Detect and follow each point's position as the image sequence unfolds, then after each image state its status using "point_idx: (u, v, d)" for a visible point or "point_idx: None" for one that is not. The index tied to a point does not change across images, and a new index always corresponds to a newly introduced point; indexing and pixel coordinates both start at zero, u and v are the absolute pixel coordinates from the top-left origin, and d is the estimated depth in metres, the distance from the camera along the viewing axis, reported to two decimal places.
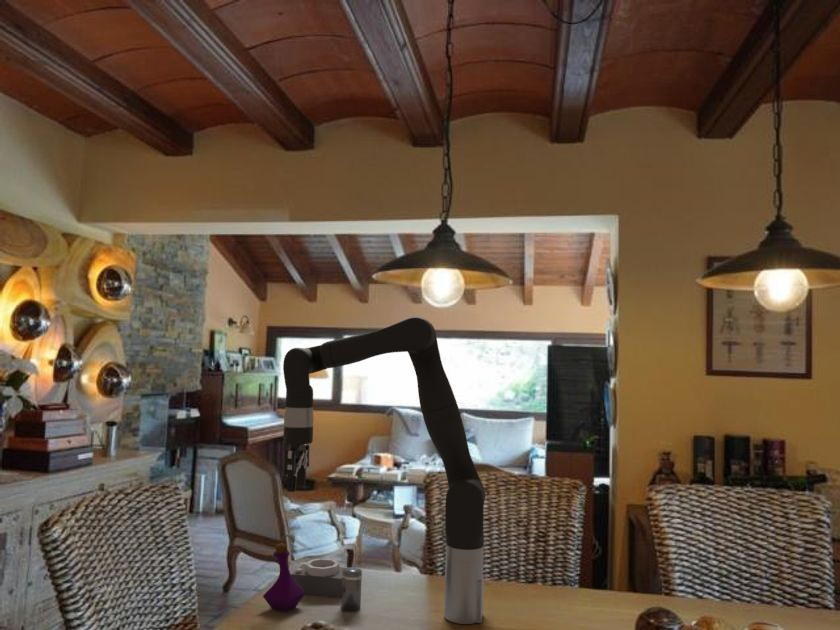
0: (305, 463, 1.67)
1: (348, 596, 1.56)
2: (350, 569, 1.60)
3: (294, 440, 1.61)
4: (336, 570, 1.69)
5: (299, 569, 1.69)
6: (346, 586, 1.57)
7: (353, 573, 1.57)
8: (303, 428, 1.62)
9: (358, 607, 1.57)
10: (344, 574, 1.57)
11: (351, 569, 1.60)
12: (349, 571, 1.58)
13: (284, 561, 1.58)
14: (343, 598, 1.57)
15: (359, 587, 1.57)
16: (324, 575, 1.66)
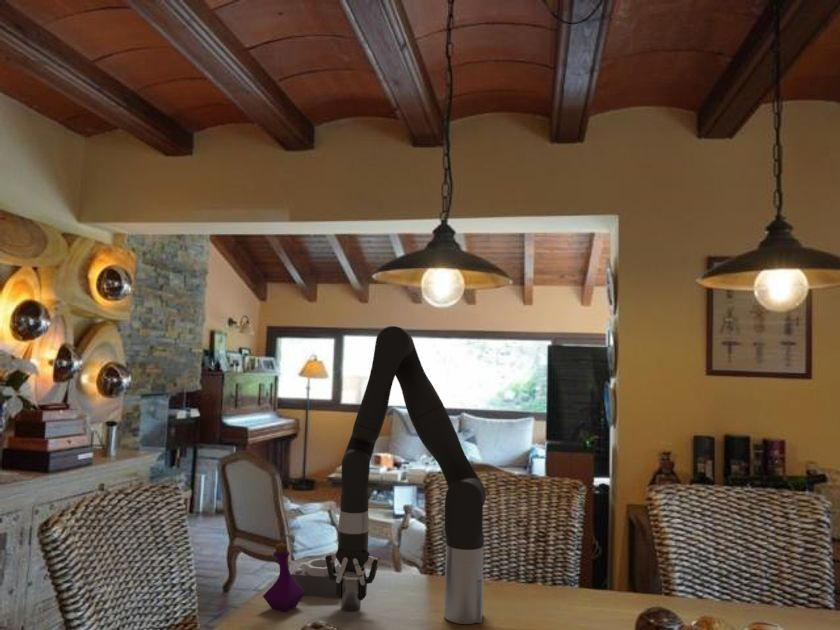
0: None
1: (348, 596, 1.56)
2: None
3: (367, 544, 1.59)
4: (336, 570, 1.69)
5: (299, 569, 1.69)
6: (346, 586, 1.57)
7: (353, 573, 1.57)
8: None
9: (358, 607, 1.57)
10: (344, 574, 1.57)
11: None
12: (349, 571, 1.58)
13: (284, 561, 1.58)
14: (343, 598, 1.57)
15: (359, 587, 1.57)
16: (324, 575, 1.66)
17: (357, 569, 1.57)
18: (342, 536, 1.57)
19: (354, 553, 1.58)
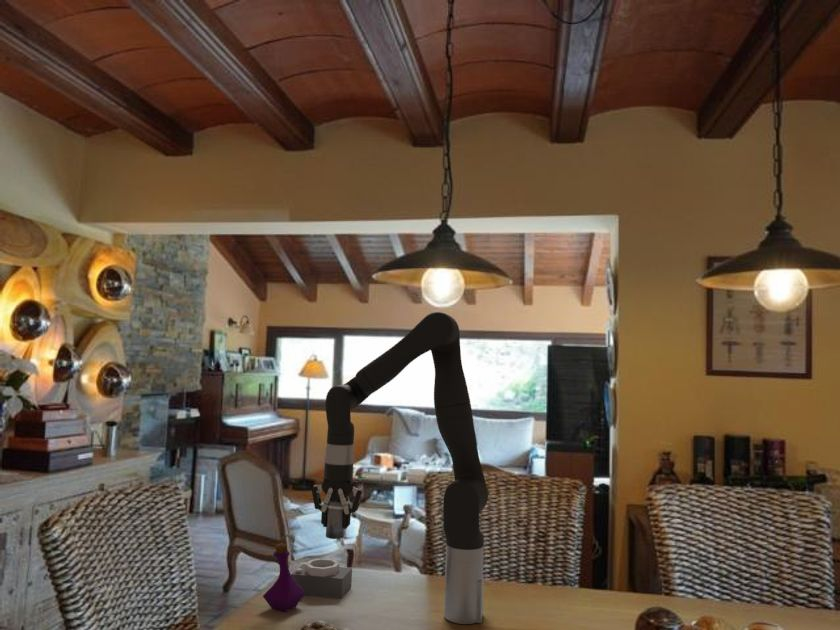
0: None
1: (332, 524, 1.63)
2: None
3: (352, 476, 1.66)
4: (336, 570, 1.69)
5: (299, 569, 1.69)
6: (331, 515, 1.64)
7: (338, 503, 1.64)
8: None
9: (342, 535, 1.64)
10: (329, 503, 1.64)
11: (336, 500, 1.67)
12: (334, 501, 1.65)
13: (284, 561, 1.58)
14: (328, 526, 1.64)
15: (343, 516, 1.65)
16: (324, 575, 1.66)
17: (342, 499, 1.64)
18: (328, 467, 1.64)
19: (339, 484, 1.65)
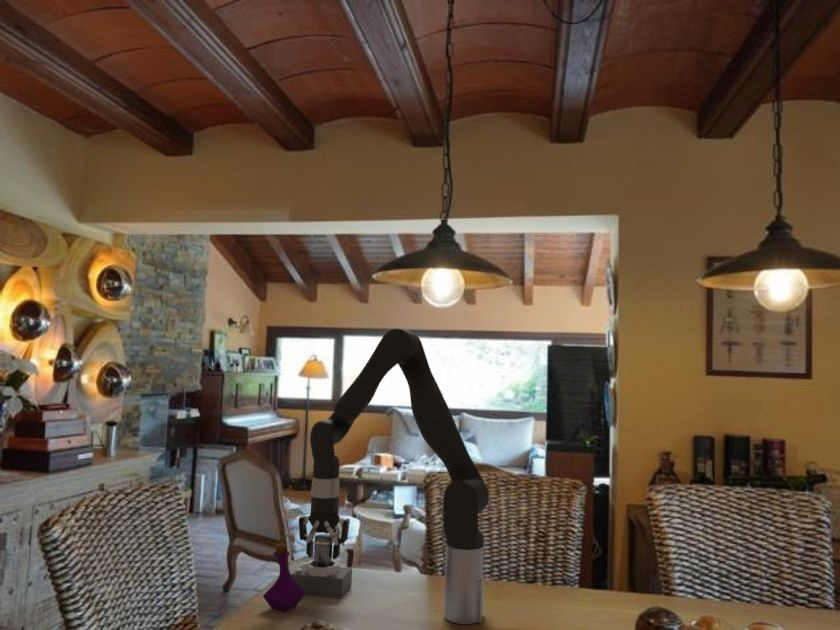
0: (317, 531, 1.73)
1: (319, 560, 1.68)
2: (322, 535, 1.72)
3: (338, 508, 1.71)
4: (336, 570, 1.69)
5: (299, 569, 1.69)
6: (318, 550, 1.68)
7: (324, 538, 1.69)
8: None
9: None
10: (316, 539, 1.69)
11: (323, 535, 1.71)
12: (321, 537, 1.70)
13: (284, 561, 1.58)
14: (315, 561, 1.69)
15: (330, 551, 1.69)
16: (324, 575, 1.66)
17: (329, 531, 1.69)
18: (314, 500, 1.69)
19: (325, 516, 1.70)
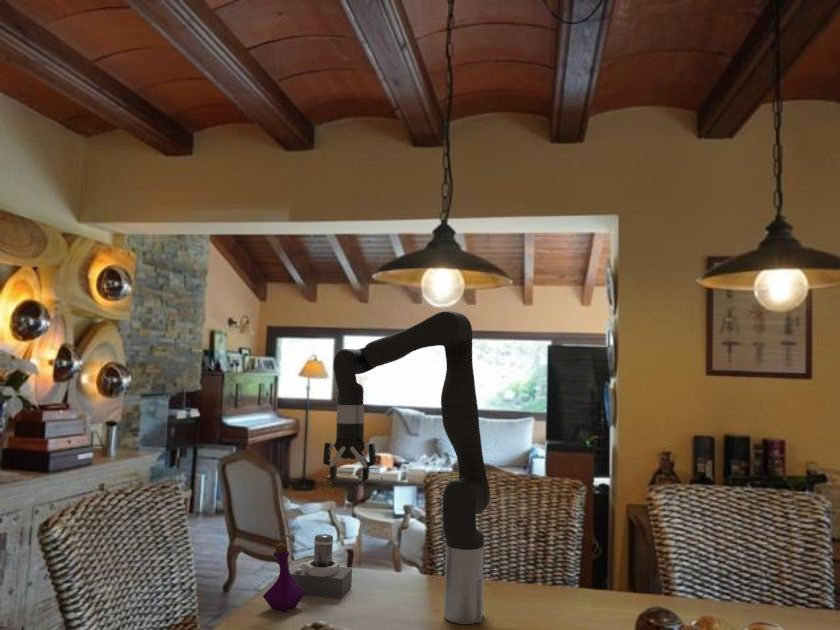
0: (340, 458, 1.76)
1: (319, 559, 1.68)
2: (322, 535, 1.72)
3: (363, 434, 1.75)
4: (336, 570, 1.69)
5: (299, 569, 1.69)
6: (318, 550, 1.69)
7: (324, 538, 1.69)
8: None
9: None
10: (316, 539, 1.69)
11: (323, 535, 1.72)
12: (321, 537, 1.70)
13: (284, 561, 1.58)
14: (315, 561, 1.69)
15: (330, 551, 1.70)
16: (324, 575, 1.66)
17: (356, 455, 1.73)
18: (340, 426, 1.73)
19: (351, 443, 1.74)
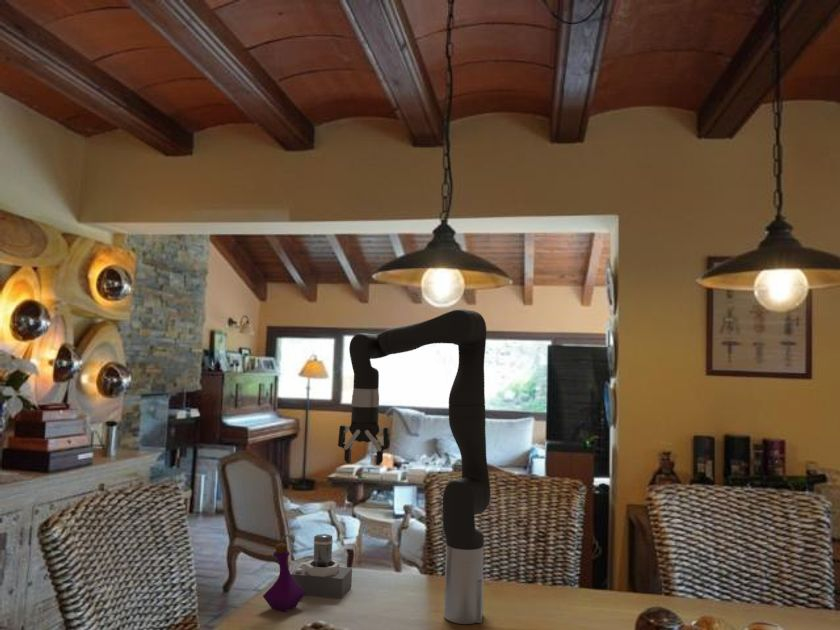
0: (355, 441, 1.78)
1: (319, 560, 1.68)
2: (321, 535, 1.72)
3: None
4: (336, 570, 1.69)
5: (299, 569, 1.69)
6: (317, 550, 1.69)
7: (324, 538, 1.69)
8: None
9: None
10: (316, 539, 1.69)
11: (322, 535, 1.72)
12: (320, 537, 1.70)
13: (284, 561, 1.58)
14: (315, 561, 1.69)
15: (330, 551, 1.70)
16: (324, 575, 1.66)
17: (371, 438, 1.74)
18: (355, 410, 1.74)
19: (366, 426, 1.75)
